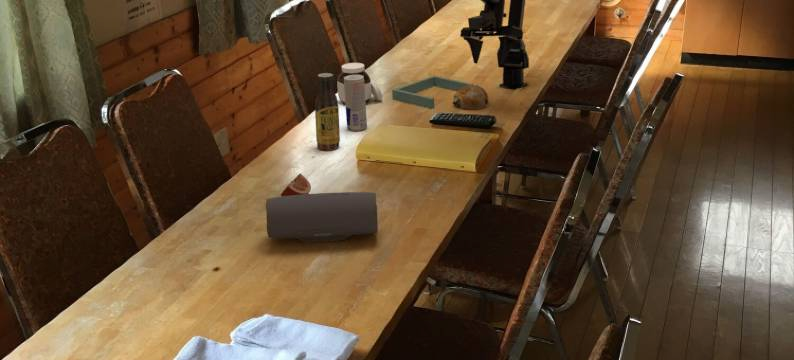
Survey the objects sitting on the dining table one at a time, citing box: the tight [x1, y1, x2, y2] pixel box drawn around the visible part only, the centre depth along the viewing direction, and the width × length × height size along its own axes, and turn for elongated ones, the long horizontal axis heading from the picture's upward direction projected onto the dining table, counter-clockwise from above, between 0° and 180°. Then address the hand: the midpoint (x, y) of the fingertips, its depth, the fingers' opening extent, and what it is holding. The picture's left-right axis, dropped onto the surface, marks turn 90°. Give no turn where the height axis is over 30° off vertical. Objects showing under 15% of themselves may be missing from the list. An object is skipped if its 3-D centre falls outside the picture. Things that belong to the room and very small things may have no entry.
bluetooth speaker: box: [265, 191, 379, 243], centre depth 197 cm, size 23×9×10 cm, turn 92°
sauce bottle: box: [314, 72, 341, 151], centre depth 247 cm, size 7×6×20 cm
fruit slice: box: [280, 173, 312, 197], centre depth 218 cm, size 8×7×5 cm
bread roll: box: [452, 84, 489, 111], centre depth 277 cm, size 10×10×8 cm
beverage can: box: [344, 75, 368, 132], centre depth 261 cm, size 6×6×15 cm
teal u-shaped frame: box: [391, 75, 474, 110], centre depth 288 cm, size 19×16×3 cm
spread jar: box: [336, 62, 383, 106], centre depth 284 cm, size 12×11×12 cm
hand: (487, 63), depth 267 cm, fingers open, 9 cm apart
